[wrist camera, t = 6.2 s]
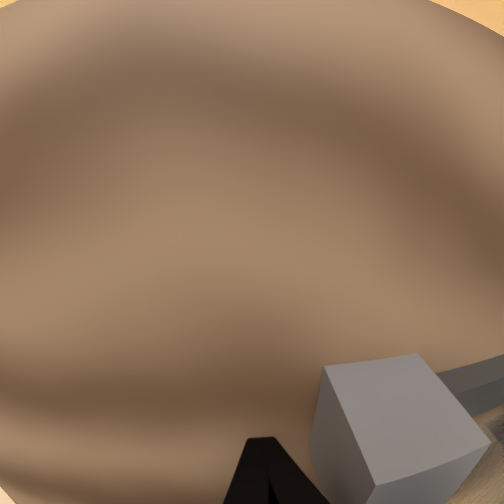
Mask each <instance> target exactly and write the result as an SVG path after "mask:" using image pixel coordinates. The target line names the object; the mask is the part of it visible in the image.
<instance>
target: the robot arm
mask: <svg viewBox="0 0 504 504" xmlns="http://www.w3.org/2000/svg"><path fill="white" fill-rule="evenodd" d="M222 504H331V503H330V502H329V501H328V500H327V499H326V498H325V497H324V495H323V494H322V493H321V492H320V491H319V490H318V489H317V487H316V486H315V485H314V484H313V483H312V482H311V480H310V479H309V478H308V477H307V476H306V475H305V473H304V472H303V471H302V470H301V469H300V467H299V466H298V465H297V464H296V463H295V461H294V460H293V459H292V458H291V456H290V455H289V454H288V453H287V452H286V450H285V449H284V448H283V447H282V445H281V444H280V443H279V442H278V440H277V439H276V438H275V437H273V436H269V437H253V438H248V439H247V440H246V442H245V445H244V448H243V451H242V453H241V456H240V459H239V462H238V464H237V467H236V470H235V472H234V475H233V478H232V480H231V483H230V485H229V488H228V491H227V493H226V496H225V498H224V501H223V503H222Z"/></svg>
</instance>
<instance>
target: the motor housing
mask: <svg viewBox="0 0 504 504" xmlns="http://www.w3.org/2000/svg"><path fill="white" fill-rule="evenodd" d="M480 429H481V430H482V431H483V432H484V434H485V435H486V436H487V437H488V439H489V440H490V441H491V444H490V445H489V447H488V448H487V450H486V451H485V453H484V454H483V456H482V457H481V459H480V460H479V461H478V463H477V464H476V466H475V467H474V468H473V470H472V471H471V472H470V474H469V475H468V476H467V478H466V479H465V480H464V482H463V483H462V484H461V485H460V487H459V488H458V489H457V490H456V491H455V493H454V494H453V495H452V496H451V497H450V499H449V500H448V501H447V502H446V503H445V504H504V413H502V414H500V415H498V416H496V417H494V418H491V419H489V420H487V421H485V422H483V423H482V425H481V427H480Z"/></svg>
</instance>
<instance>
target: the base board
mask: <svg viewBox="0 0 504 504" xmlns="http://www.w3.org/2000/svg"><path fill="white" fill-rule="evenodd" d="M415 353H418V354H419V355H420V357H421V358H422V359H423V360H424V361H425V362H426V363H427V365H428V366H429V367H430V368H431V369H432V370H433V372H434V373H439V372H443V371H447V370H451V369H455V368H459V367H462V366H466V365H470V364H473V363H477V362H480V361H483V360H487V359H490V358H493V357H496V356H499V355H502V354H504V37H503V36H501V35H499V34H498V33H496V32H494V31H492V30H491V29H489V28H487V27H485V26H483V25H481V24H479V23H477V22H475V21H474V20H472V19H470V18H467V17H465V16H463V15H461V14H459V13H457V12H455V11H453V10H450V9H448V8H446V7H443V6H441V5H439V4H436V3H434V2H431V1H429V0H19V1H16V2H14V3H12V4H9V5H7V6H5V7H2V8H0V486H1V488H2V489H3V490H4V491H5V492H6V493H7V495H8V496H9V497H10V498H11V499H12V500H13V501H14V502H15V503H16V504H222V503H223V501H224V498H225V496H226V493H227V491H228V488H229V485H230V483H231V480H232V478H233V475H234V472H235V470H236V467H237V464H238V462H239V459H240V456H241V453H242V451H243V448H244V445H245V442H246V440H247V439H248V438H253V437H269V436H273V437H275V438H276V439H277V440H278V442H279V443H280V444H281V445H282V447H283V448H284V449H285V450H286V452H287V453H288V454H289V455H290V456H291V458H292V459H293V460H294V461H295V463H296V464H297V465H298V466H299V467H300V469H301V470H302V471H303V472H304V473H305V475H306V476H307V477H308V478H309V479H310V480H311V482H312V483H313V484H314V485H315V486H316V487H317V489H318V490H319V491H320V489H319V485H318V482H317V478H316V474H315V471H314V467H313V464H312V460H311V457H310V453H309V449H308V446H309V442H310V437H311V432H312V427H313V422H314V417H315V412H316V407H317V401H318V396H319V390H320V384H321V379H322V373H323V366H327V365H337V364H346V363H354V362H362V361H370V360H377V359H384V358H391V357H397V356H403V355H409V354H415ZM502 413H504V404H502V405H500V406H498V407H496V408H494V409H491V410H489V411H487V412H484V413H482V414H479V415H477V416H474V417H472V419H473V420H474V421H475V422H476V424H477V425H478V426H479V427H481V425H482V423H483V422H485V421H487V420H489V419H491V418H494V417H496V416H498V415H500V414H502Z"/></svg>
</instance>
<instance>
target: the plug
mask: <svg viewBox="0 0 504 504" xmlns="http://www.w3.org/2000/svg"><path fill="white" fill-rule="evenodd" d="M502 404H504V354H502V355H499V356H496V357H493V358H490V359H487V360H483V361H480V362H477V363H473V364H470V365H466V366H462V367H459V368H455V369H451V370H447V371H443V372H439V373H434V372H433V370H432V369H431V368H430V367H429V366H428V365H427V363H426V362H425V361H424V360H423V359H422V358H421V357H420V355H419V354H418V353H415V354H409V355H403V356H397V357H391V358H384V359H377V360H370V361H362V362H354V363H346V364H337V365H327V366H323V373H322V379H321V384H320V390H319V396H318V401H317V407H316V412H315V417H314V422H313V427H312V432H311V437H310V442H309V446H308V449H309V453H310V457H311V460H312V464H313V467H314V471H315V474H316V478H317V482H318V485H319V489H320V492H321V493H322V494H323V495H324V497H325V498H326V499H327V500H328V501H329V502H330V503H331V504H445V503H446V502H447V501H448V500H449V499H450V497H451V496H452V495H453V494H454V493H455V491H456V490H457V489H458V488H459V487H460V485H461V484H462V483H463V482H464V480H465V479H466V478H467V476H468V475H469V474H470V472H471V471H472V470H473V468H474V467H475V466H476V464H477V463H478V461H479V460H480V459H481V457H482V456H483V454H484V453H485V451H486V450H487V448H488V447H489V445H490V444H491V441H490V440H489V439H488V437H487V436H486V435H485V434H484V432H483V431H482V430H481V429H480V427H479V426H478V425H477V424H476V422H475V421H474V420H473V419H472V417H474V416H477V415H479V414H482V413H484V412H487V411H489V410H491V409H494V408H496V407H498V406H500V405H502Z"/></svg>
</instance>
